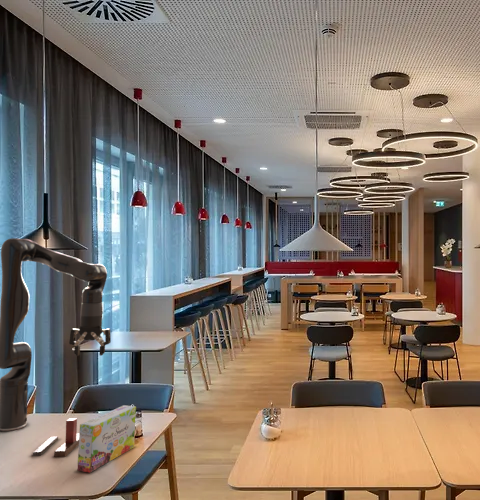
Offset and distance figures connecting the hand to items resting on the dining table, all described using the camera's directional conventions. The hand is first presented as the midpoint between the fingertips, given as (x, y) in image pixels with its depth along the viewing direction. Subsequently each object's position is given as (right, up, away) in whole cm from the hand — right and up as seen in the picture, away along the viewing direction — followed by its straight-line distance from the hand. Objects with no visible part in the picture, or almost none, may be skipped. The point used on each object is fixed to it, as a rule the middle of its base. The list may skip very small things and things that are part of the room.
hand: (89, 355), depth 183 cm
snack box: (+20, -30, -25) cm, 44 cm away
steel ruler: (-6, -29, -17) cm, 34 cm away
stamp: (+3, -29, -17) cm, 34 cm away
